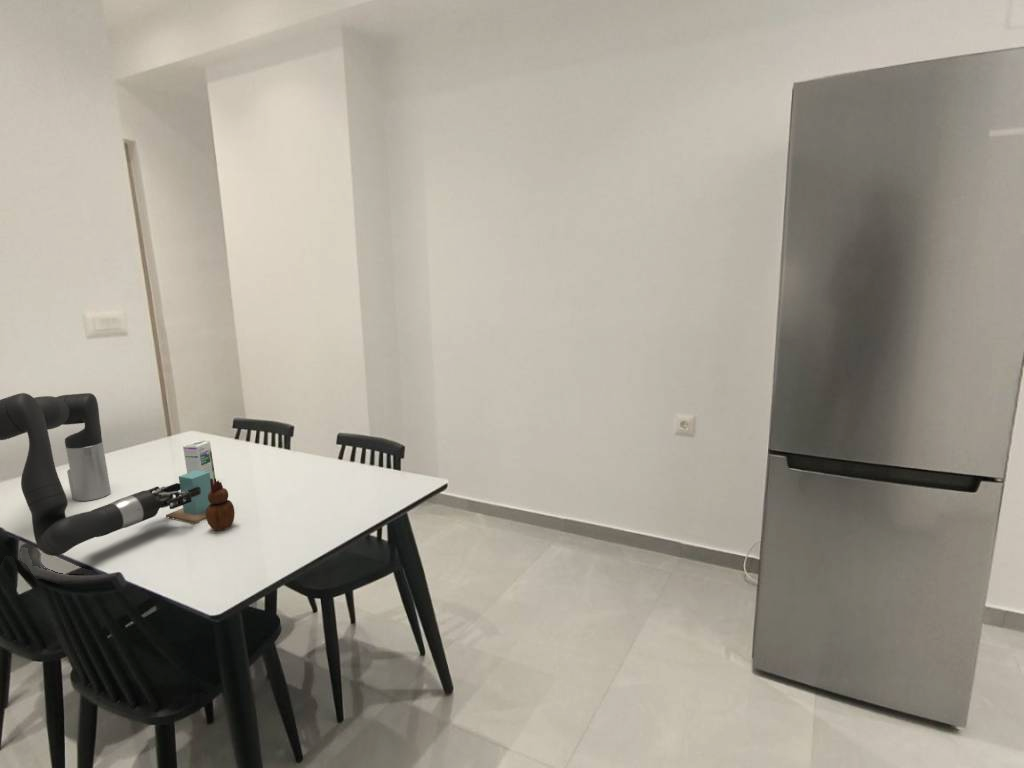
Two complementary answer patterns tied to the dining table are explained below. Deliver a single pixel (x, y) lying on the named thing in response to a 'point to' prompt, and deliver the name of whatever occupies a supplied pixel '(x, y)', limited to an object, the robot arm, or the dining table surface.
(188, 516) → the brown base plate
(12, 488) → the dining table surface
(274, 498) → the dining table surface
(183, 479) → the tall teal pillar
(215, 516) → the wooden figurine
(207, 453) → the syrup box
